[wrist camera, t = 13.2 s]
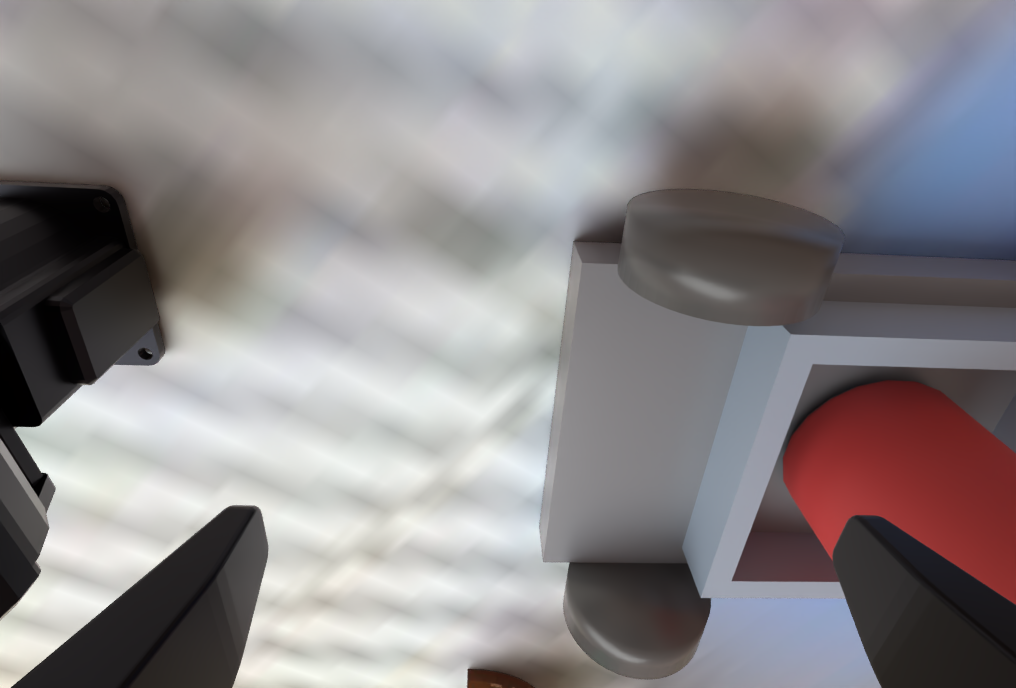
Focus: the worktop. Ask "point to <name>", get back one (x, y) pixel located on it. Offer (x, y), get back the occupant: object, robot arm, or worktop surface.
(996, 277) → the chassis
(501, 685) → the food container
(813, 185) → the worktop surface
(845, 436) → the beer can
